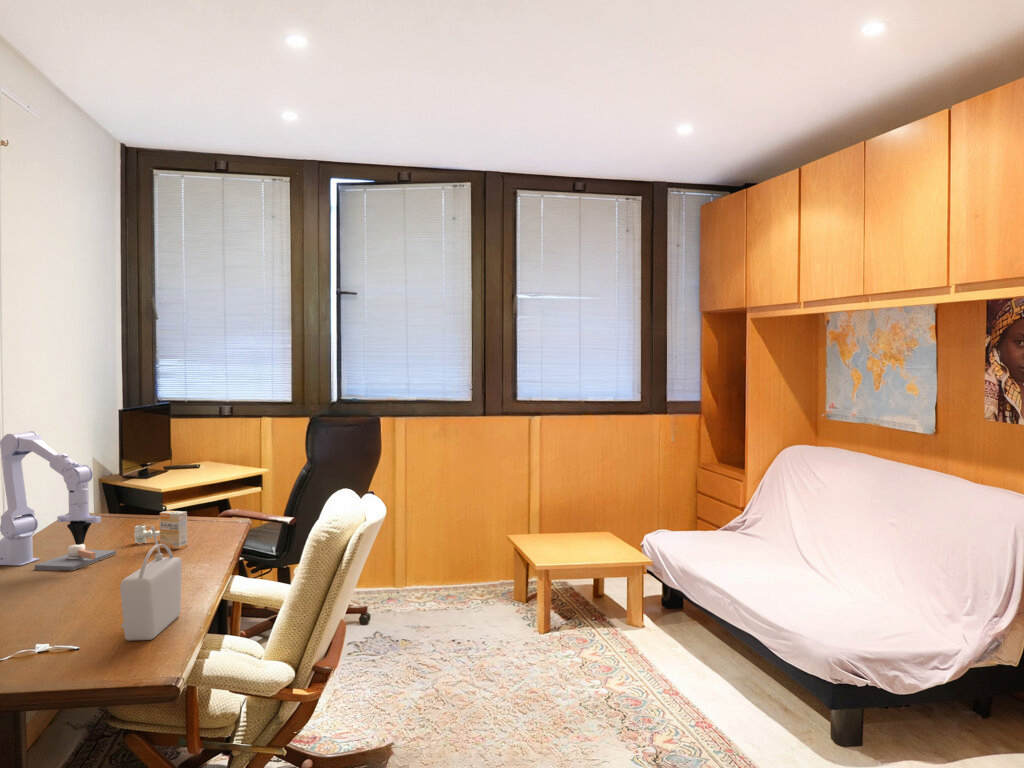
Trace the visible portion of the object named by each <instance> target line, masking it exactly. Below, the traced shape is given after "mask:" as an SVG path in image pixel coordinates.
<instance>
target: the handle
mask: <svg viewBox="0 0 1024 768" xmlns="http://www.w3.org/2000/svg"><path fill="white" fill-rule="evenodd" d="M87 550H88V549H86V544H85V543H83V544H80V545H76V543H75V544H71V545H68V546H67V554H68V556H70V557H75V556H80V557H84V558H88V559H95V552H92V551H87Z"/></svg>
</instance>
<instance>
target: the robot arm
mask: <svg viewBox="0 0 1024 768" xmlns="http://www.w3.org/2000/svg"><path fill="white" fill-rule="evenodd" d="M31 453H34V454H36V455H37V456H39V457H41V458H42V459H44V460H46V462H47V461H48V462H49V467H50V468H51V469H52V470H53V471H55V472H56V473H58V474H59V475H60V476H62V478H63V481H64V483H65V484H66V489H67V491H68V514H62V515H61V514H60V515H58V516H57V518H56V519H57V523H64V522H65V523H68V522H69V523H68V524H67V525H66V527H67V529H69V531H70V533H71V535H72V537H73V540H74V543H75V544H76V545H80V544H85V540H86V536H87V533H88V531H89V528H90V527H91V525H92V523H94V524H98V523H102V516H100V515H92V514H90V495H89V494H90V493H89V489H90V488H89V483H90V481H92V479H93V471H92V468H91V467H89V465H86V464H79V462H77V461H75V460H73V459H72V458H71V457H69V455H68V454H67V453H58V452H56V451H55V450H54V449H53V448H52V447H50V445H48V444H47V443H46V442H45V441H44V440H43V438H42V436H41V435H40V434H38V433H37V432H36V431H34V430H33V431H30V430H29V431H26V432H17V433H7V434H5V435H4V436H3V437H2V439H0V454H1V456H0V458H1V459H0V460H1V466H2V473H3V474H2V475H3V481H4V487H5V488H4V489H5V496H6V504H7V510H6V511H5V512H4V513H3V514H1V515H0V533H1V535H2V536H3V537H2V538H0V566H24V565H27V564H30V563H33V562H36V561H39V560H40V557H34V553H33V552H34V551H33V549H34V548H33V546H34V545H33V544H34V543H33V535H34V534H35V531H36V530H37V529H38V526H39V522H38V518H37V517H36V514H35V510H34V509H32V508H31V507H29V506H28V502H27V497H26V496H27V494H26V493H27V492H26V487H25V477H24V474H23V473H24V472H23V465H22V461H23V459H24V458H25V457H26V456H27V455H29V454H31Z"/></svg>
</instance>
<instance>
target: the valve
mask: <svg viewBox="0 0 1024 768" xmlns="http://www.w3.org/2000/svg"><path fill="white" fill-rule="evenodd" d="M155 534H156V537H160V530H155ZM133 536H134V543H145V542H147V538H148V539H152V538H153V537H154V536H153V532H152V530H151V529H148V530H147V526H146V525H145V524H140V525H138V524H137V525H136V526H134V534H133ZM145 544H146V543H145Z"/></svg>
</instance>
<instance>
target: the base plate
mask: <svg viewBox="0 0 1024 768" xmlns="http://www.w3.org/2000/svg"><path fill="white" fill-rule="evenodd" d="M86 550H87V551H92V552H95V559H88V558H84V557H80V556H75V557H70V556H68V553H67V554H63V555H60V556H57V557H55V558H51V559H49V560H46V561H42V562H41V563H37V564H34V570H37V571H58V570H75V571H77V570H76V569H78V568H80V569H82V568H81V567H83V566H86V565H88V564H91V563H94V562H96V561H99V560H101V559H104V558H106V557H109V556H111V555H114V554H116V555H117V550H105V549H103V550H102V549H101V550H100V549H99V550H98V549H86ZM104 560H105V559H104ZM99 562H100V561H99ZM96 563H97V562H96ZM94 564H95V563H94ZM91 565H92V564H91ZM88 566H89V565H88ZM86 567H87V566H86ZM83 568H84V567H83ZM78 570H79V569H78Z"/></svg>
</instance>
